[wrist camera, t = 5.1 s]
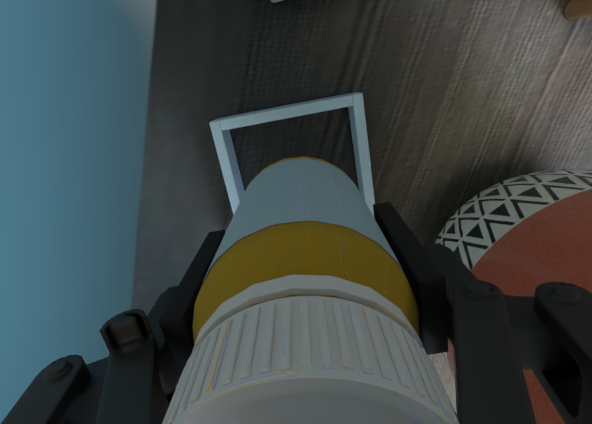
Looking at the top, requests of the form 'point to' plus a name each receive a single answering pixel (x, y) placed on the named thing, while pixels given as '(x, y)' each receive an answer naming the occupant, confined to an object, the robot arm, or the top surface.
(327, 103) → the square tray frame
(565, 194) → the planter
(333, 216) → the bottle
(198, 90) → the top surface
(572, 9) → the stool
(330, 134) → the top surface
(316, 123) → the top surface
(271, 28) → the top surface
